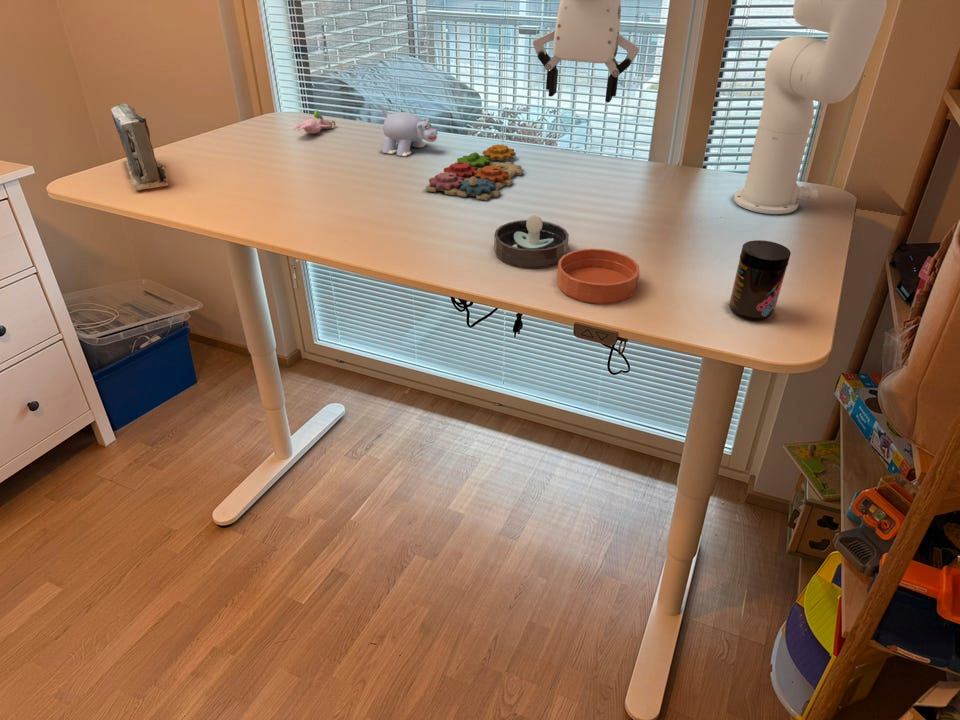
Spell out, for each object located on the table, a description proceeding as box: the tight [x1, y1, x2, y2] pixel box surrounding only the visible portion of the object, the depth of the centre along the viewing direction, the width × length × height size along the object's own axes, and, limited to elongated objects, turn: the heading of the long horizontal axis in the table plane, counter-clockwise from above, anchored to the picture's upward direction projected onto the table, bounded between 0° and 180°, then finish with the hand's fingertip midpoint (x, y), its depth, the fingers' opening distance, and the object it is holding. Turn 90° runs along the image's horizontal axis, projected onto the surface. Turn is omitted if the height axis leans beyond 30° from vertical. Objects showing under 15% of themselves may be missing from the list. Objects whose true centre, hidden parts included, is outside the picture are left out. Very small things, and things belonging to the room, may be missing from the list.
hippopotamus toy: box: [379, 107, 439, 157], centre depth 170 cm, size 11×15×10 cm
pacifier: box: [512, 214, 554, 250], centre depth 122 cm, size 7×6×6 cm
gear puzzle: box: [425, 144, 524, 201], centre depth 156 cm, size 31×16×4 cm, turn 157°
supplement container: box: [728, 239, 792, 322], centre depth 104 cm, size 7×7×10 cm
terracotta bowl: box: [556, 248, 641, 305], centre depth 113 cm, size 13×13×4 cm
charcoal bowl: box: [493, 219, 570, 269], centre depth 123 cm, size 13×13×4 cm
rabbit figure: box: [292, 109, 337, 135], centre depth 182 cm, size 6×6×15 cm
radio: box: [110, 103, 169, 191], centre depth 153 cm, size 23×9×15 cm, turn 23°
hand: (580, 97), depth 117 cm, fingers open, 9 cm apart
